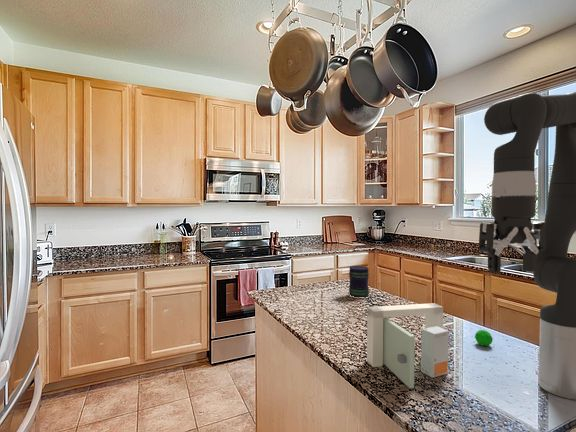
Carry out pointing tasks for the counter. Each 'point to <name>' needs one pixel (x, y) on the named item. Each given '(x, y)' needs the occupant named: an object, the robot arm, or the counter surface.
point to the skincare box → (434, 351)
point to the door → (399, 351)
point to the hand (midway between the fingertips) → (511, 272)
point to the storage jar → (358, 281)
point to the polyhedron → (483, 338)
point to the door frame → (378, 313)
